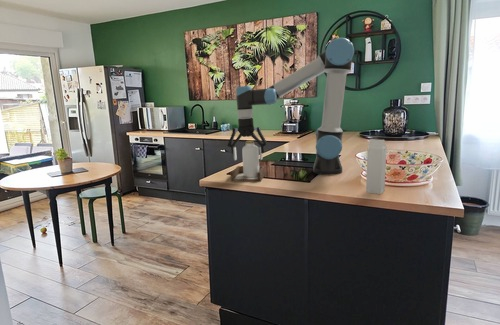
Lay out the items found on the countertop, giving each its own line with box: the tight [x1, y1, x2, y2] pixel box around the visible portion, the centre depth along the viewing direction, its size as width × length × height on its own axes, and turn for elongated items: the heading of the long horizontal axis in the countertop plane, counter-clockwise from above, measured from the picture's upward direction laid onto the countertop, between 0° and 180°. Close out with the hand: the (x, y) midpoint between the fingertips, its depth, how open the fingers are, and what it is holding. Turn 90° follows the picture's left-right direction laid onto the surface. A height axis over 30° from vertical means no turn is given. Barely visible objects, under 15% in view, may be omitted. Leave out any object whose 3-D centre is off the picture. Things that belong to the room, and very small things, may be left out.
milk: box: [365, 138, 387, 195], centre depth 130 cm, size 6×6×22 cm
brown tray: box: [230, 165, 266, 183], centre depth 163 cm, size 15×14×4 cm
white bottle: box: [241, 140, 260, 177], centre depth 161 cm, size 8×8×18 cm
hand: (248, 159), depth 161 cm, fingers open, 13 cm apart
